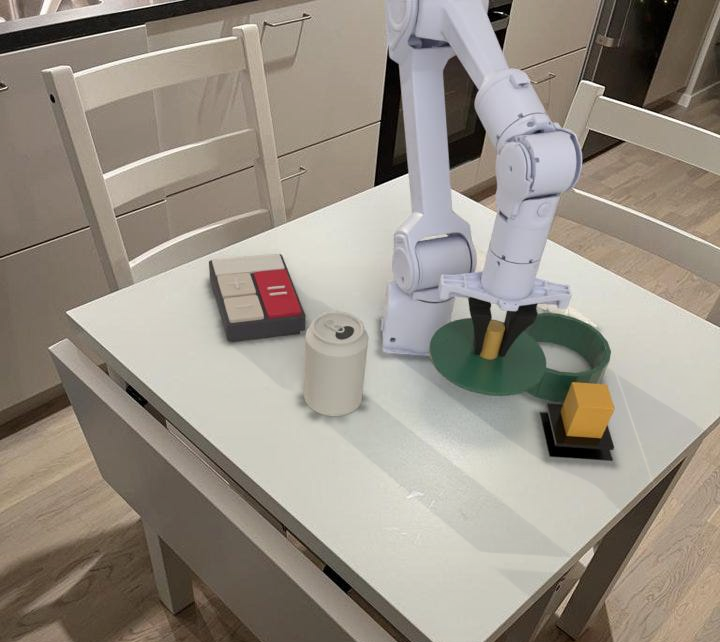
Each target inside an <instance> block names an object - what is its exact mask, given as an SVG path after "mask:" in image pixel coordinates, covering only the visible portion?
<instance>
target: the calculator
mask: <svg viewBox="0 0 720 642" xmlns="http://www.w3.org/2000/svg"><path fill="white" fill-rule="evenodd" d="M208 273H209V283H210V286H211V289H212V293H213V296H214V298H215V301H216V305H217V309H218V312H219V315H220V319H221V323H222V326H223V330H224V333H225V337H226V341H227V342H229V343H233V342H241V341H250V340H257V339H266V338H274V337H282V336H290V335H299V334H301V332H303V331H305V330H306V313H305V310H304V308H303V306H302V303H301V300H300V297H299V295H298V292H297V290H296V287H295V284H294V282H293V280H292V277H291V274H290V272H289V269H288V267H287V264H286V262H285V259H284V256H283V254H281V253H271V254H259V255H249V256H248V255H247V256H238V257H227V258H216V259H211V260H209V261H208Z"/></svg>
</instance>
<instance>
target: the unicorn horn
mask: <svg viewBox="0 0 720 642" xmlns="http://www.w3.org/2000/svg"><path fill="white" fill-rule="evenodd" d="M475 250H476V256H477V265H476V270H475V272H482V271H483V269H484V265H485V260H486V256H487V254H485V253H483V252H482V251H480V250H479V249H477V248H475ZM537 308H539V309H541V310H544V311H548V313H556V314H562V315H566V316H570V317H574V318H577V319H579V320H581V321H583V322H585V323H587V324H589V325H591V326H592V327H594V328H597V327H598V326H597V324H596V323H595V322H593V321H592V320H591V319H590V318H588V317H586V316H585V315H584V314H583V313H581V312H579V311H578V310H576V309H575V308H573V307H572V306H570V305H568V307H567V309H559V308H557V305H547V304H537Z"/></svg>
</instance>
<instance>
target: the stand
mask: <svg viewBox="0 0 720 642" xmlns="http://www.w3.org/2000/svg"><path fill="white" fill-rule="evenodd" d="M562 407H563V404H559V403H546V410H547V412H545V411H544V412H543V411H540V412H539V415H540V420H541V424H542V428H543V434H544V438H545V443H546V447H547V452H548V457H549V458H562V459H575V460H576V459H580V460H592V461H606V462H608V461H609V462H613V461H614V460H613V456H612V452H611V451H614V449H615V445H614V442H613V439H612V435H611V431H610V428H609V424H608V425H607V427H606V429H605V431H604V433H603V435H602V438H589V437H575V436H566V432H565V428H564V424H563V420H562V415H561V409H562Z"/></svg>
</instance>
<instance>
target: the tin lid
mask: <svg viewBox="0 0 720 642" xmlns="http://www.w3.org/2000/svg"><path fill="white" fill-rule="evenodd" d="M504 332H505V326H504V321H500V320H497V319H491V321H490V323H489V325H488V328H487V330H486V333H485V337H484V342H483V347H482V351H481V354H480V355H475V354H474V348H473V341H474V325H473V322H472V319H471V317H467V318H460V319H456V320H453V321H450V323H448V324H446V325H444V326H442V327H441V328H439V329H438V330H437V331H436V332H435V334H434V335H433V337H432V339H431V341H430V346H429V354H430V356H429V358H430V362H431V363H432V365H433V367H434V368H435V369H436V371H437V372H438V373H440V375H441V376H442V377H443V378H444V379H446V380H447V381H448V382H450V383H451V384H453V385H455V386H457V387H459V388H461V389H463V390H466V391H469V392H472V393H475V394H477V395H478V394H479V395H483V396H484V395H485V396H491V397H508V396H516V395H519V394H523V393H526V392H525V391H528V390H529V389H531V388H533V387H534V386H535V385H537V384H538V383H539V382H540V380H541V379H542V377H543V376H544V373H545V370H546V368H547V358H546V355H545V352H544V350H543V349H542V346H541V345H540V343H539V342H536V341H535V340H534V339H533V338H532V337H531V336H530V335H528V334H527V333H525V332H524V331H523V332H522V333H521V334H520V335H519V336H518V337H517V339H516V340H515V341H514V342H513V344H512V345H511V347H510V348H509V350H508V352H507V353H506V355H505V357H501V356H499V350H500V346H501V342H502V339H503V335H504Z"/></svg>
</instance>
